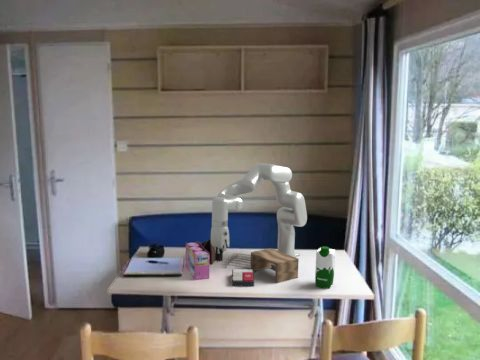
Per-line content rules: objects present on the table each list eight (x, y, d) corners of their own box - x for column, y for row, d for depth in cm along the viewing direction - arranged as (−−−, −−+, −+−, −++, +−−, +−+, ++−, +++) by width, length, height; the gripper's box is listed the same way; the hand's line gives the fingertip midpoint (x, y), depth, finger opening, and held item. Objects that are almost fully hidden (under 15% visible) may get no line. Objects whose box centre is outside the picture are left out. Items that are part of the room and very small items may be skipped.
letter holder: (221, 254, 277) (221, 231, 275) (211, 265, 258) (212, 240, 256) (205, 253, 280) (205, 230, 277) (194, 263, 260) (194, 239, 258)
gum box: (184, 265, 257) (184, 241, 254) (198, 264, 259) (198, 240, 257) (194, 280, 234) (194, 254, 232) (209, 279, 237) (210, 253, 235)
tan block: (270, 265, 258) (270, 248, 257) (297, 277, 240) (298, 258, 239) (250, 270, 250) (250, 252, 248) (277, 283, 232) (277, 263, 231)
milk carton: (313, 286, 229) (314, 247, 226) (317, 280, 237) (319, 242, 234) (330, 289, 225) (332, 250, 222) (335, 283, 233) (337, 245, 230)
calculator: (231, 279, 227) (232, 267, 242) (231, 288, 228) (232, 275, 242) (254, 280, 227) (253, 268, 242) (253, 288, 228) (253, 276, 242)
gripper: (235, 225, 216) (234, 263, 219) (217, 219, 228) (216, 255, 231) (221, 227, 212) (221, 266, 215) (204, 221, 224) (204, 257, 226)
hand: (218, 260), depth 223 cm, fingers closed
